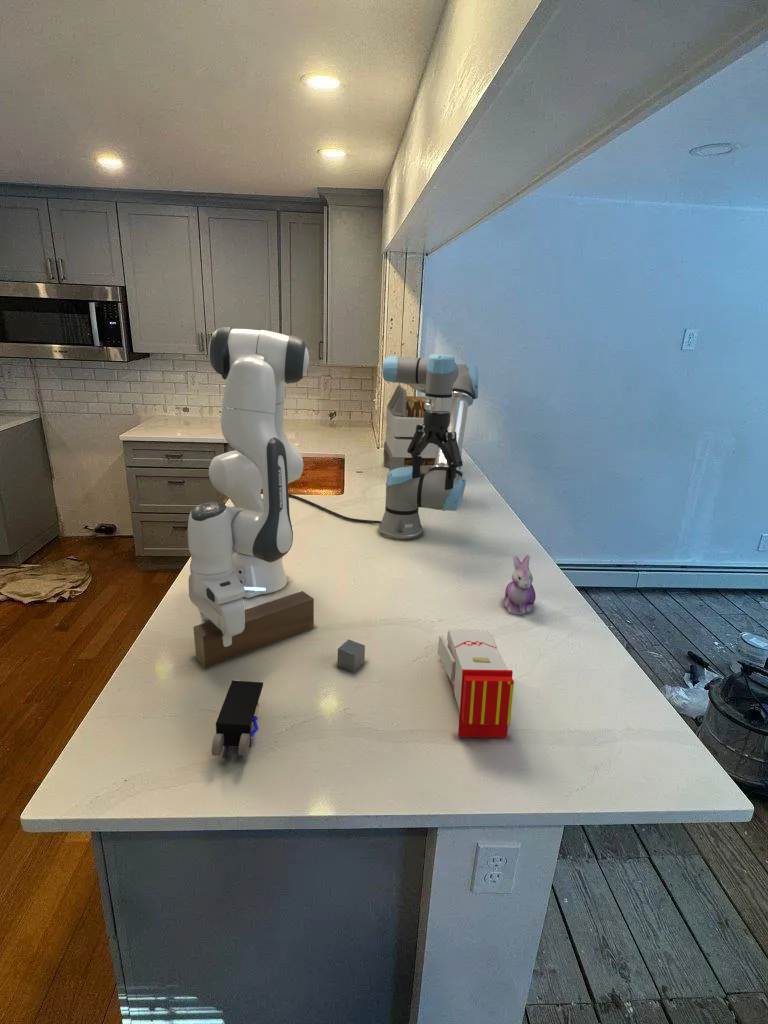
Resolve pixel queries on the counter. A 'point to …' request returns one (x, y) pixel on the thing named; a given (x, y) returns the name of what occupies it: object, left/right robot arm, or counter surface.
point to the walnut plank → (256, 628)
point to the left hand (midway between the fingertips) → (216, 635)
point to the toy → (478, 682)
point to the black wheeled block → (237, 718)
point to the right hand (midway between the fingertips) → (432, 483)
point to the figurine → (520, 588)
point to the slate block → (351, 655)
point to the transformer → (405, 430)
